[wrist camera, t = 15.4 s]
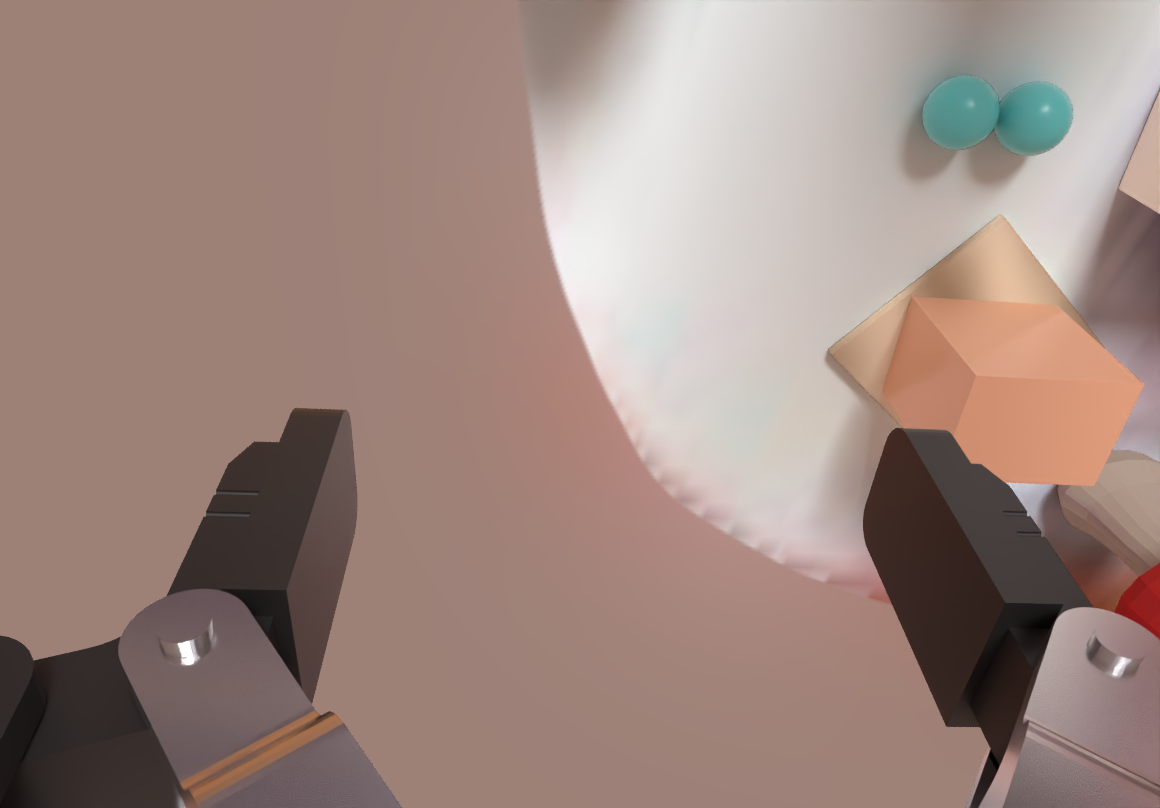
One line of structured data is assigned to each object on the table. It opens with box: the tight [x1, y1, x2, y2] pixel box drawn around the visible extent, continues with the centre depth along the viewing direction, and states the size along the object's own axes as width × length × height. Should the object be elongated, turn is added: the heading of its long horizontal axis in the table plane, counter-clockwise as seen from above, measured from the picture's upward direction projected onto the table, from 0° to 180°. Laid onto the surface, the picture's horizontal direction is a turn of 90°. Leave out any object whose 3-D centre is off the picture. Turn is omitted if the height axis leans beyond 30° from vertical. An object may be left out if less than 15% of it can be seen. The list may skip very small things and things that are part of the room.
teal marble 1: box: [922, 75, 1000, 150], centre depth 38 cm, size 3×3×3 cm
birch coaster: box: [828, 215, 1104, 428], centre depth 45 cm, size 10×10×1 cm
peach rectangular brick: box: [882, 296, 1145, 486], centre depth 42 cm, size 7×5×8 cm
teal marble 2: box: [994, 82, 1073, 156], centre depth 38 cm, size 3×3×3 cm
